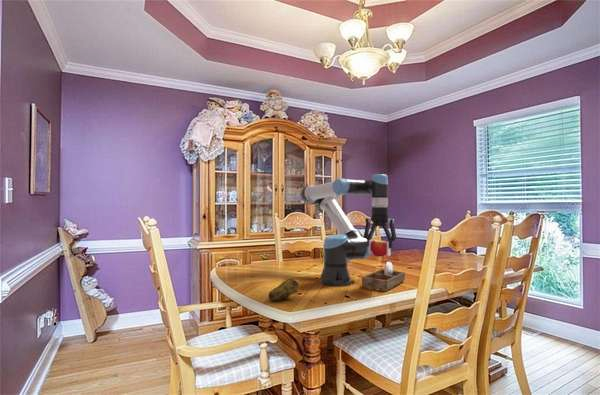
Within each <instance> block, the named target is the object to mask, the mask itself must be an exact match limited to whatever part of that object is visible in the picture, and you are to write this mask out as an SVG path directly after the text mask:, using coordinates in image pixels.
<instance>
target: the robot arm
mask: <svg viewBox="0 0 600 395" xmlns="http://www.w3.org/2000/svg"><path fill="white" fill-rule="evenodd" d="M388 178H389V177H388V175H387V174H384V173H383V174H381V173H379V174H377V173H376V174H373V175H371V179H356V178H354V179H351V178H344V177H342V178H336V179H334V181H330V182H326V183H322V184H316V185H315V184H309V185H305V186H303V187H302V188H301V189H300V190H301V191H300V194H299V195H300V198H301V200H302V202H304V203H306V204H307V205H318V207H319V209H321V210H322V211H325V214H326V215H327V216H328V218H329V219H330V221H331V223H332V224H333V226H334V228H335V229H336V231H337V233H338V234H331V235H329V236H325V238H324V241H323V268H322V270H321V275H320V283H321V284H323V285H327V286H335V287H337V286H338V287H339V286H341V287H342V286H347V285H350V284H351V283H352V279H351V274H350V272H349V268H348V261H351V260H359V259H360V260H362V259H367V258H369V257H370V255H371V254H373V253H372V251H371V242H372V241H374V239H373V236H374V234H375V231H376V229H377V228H378V227H382V229H383V231H384V234H385V236H386V238H387V240H388V241H386V242H387V254H386V256H387V257H390V256H391V255H392V254H391V250H392V249H393V246H394V245H393V243H394V241H397V240H398V239H397V238H398V237H397V234H396V233H397V232H396V228H395V221H396V220H395V218H394V219H393V218H389V207H388V206H389V179H388ZM343 195H358V196H359V195H360V196H367V195H371V206H372V207H371V217H369V218H368V217H366V218H365V227H364V232H363V234H362V233H361V231H360V230H358V229H356V228H355V227H354V226H353V224H352V223H351V221H350V220H349V218H348V217H347V215H346V214H345V212H344V210H343V209H342V208H341V206H340V205H339V204H338V203H339V202H338V201H339V196H343ZM371 223H372V225H371ZM387 223H388V224H389V228H388V224H387ZM370 228H371V229H370Z"/></svg>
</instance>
